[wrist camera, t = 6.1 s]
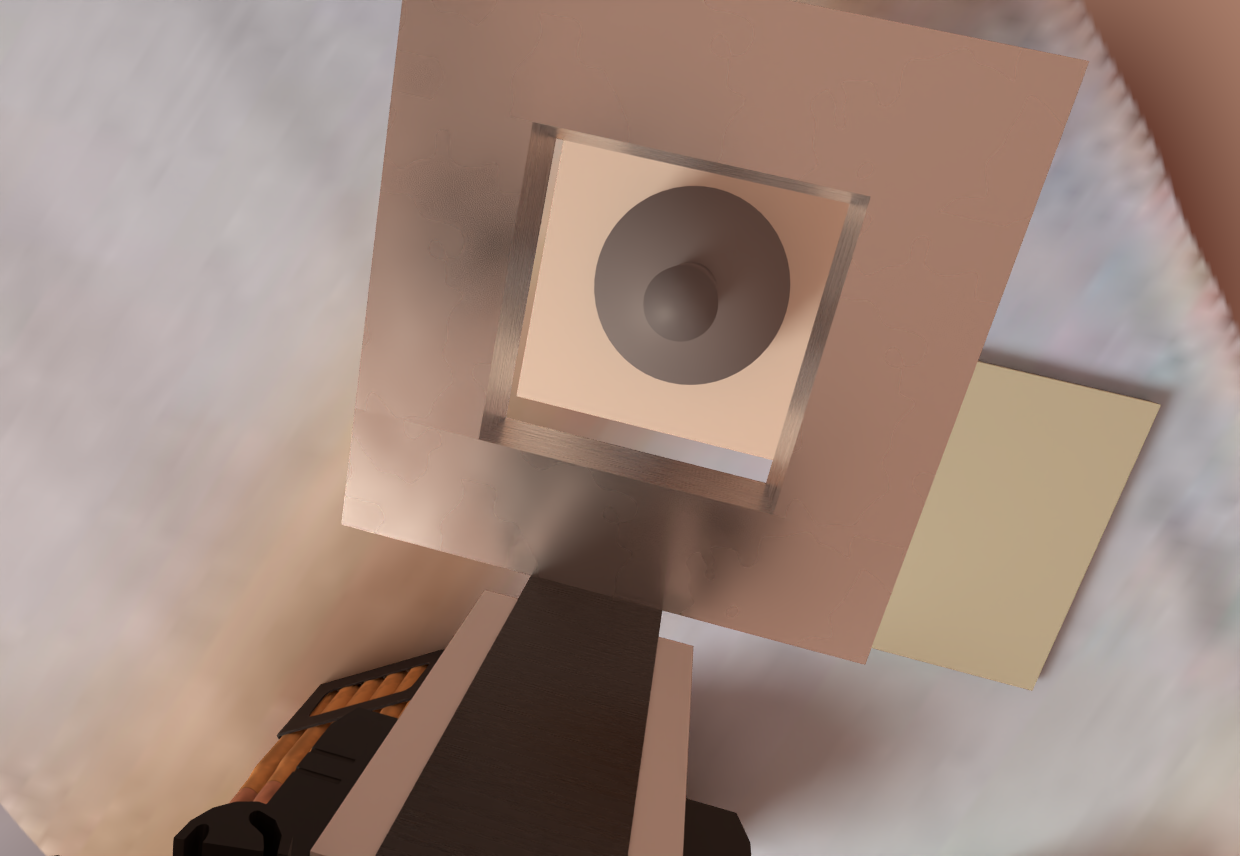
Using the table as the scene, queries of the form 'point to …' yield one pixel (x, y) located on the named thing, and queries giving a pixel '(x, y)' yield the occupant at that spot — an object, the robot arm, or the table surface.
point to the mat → (1012, 523)
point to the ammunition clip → (335, 718)
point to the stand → (676, 297)
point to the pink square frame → (641, 482)
